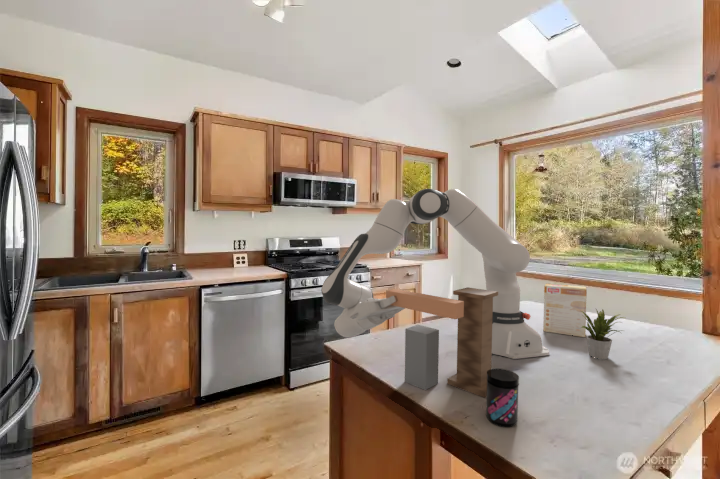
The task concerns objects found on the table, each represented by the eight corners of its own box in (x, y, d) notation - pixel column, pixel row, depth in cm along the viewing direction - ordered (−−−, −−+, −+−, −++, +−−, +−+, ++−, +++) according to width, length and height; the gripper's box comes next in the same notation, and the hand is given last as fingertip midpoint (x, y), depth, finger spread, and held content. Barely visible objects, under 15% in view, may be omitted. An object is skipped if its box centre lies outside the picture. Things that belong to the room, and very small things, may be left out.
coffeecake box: (585, 333, 145) (586, 286, 144) (585, 337, 139) (587, 288, 138) (544, 327, 153) (545, 282, 153) (542, 331, 147) (544, 285, 147)
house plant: (637, 368, 110) (640, 316, 109) (588, 364, 112) (590, 313, 112) (614, 352, 124) (616, 306, 123) (571, 349, 126) (572, 303, 126)
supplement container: (479, 419, 80) (480, 373, 80) (494, 408, 84) (495, 366, 84) (509, 432, 75) (510, 384, 74) (523, 420, 79) (524, 375, 79)
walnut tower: (447, 383, 98) (448, 290, 97) (463, 374, 104) (465, 286, 103) (485, 397, 90) (487, 296, 89) (500, 386, 96) (502, 292, 95)
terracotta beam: (385, 303, 104) (386, 290, 104) (394, 301, 107) (394, 288, 107) (455, 319, 88) (455, 303, 88) (463, 316, 91) (463, 301, 91)
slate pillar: (404, 381, 99) (405, 328, 98) (417, 375, 103) (418, 324, 102) (425, 390, 94) (426, 334, 93) (438, 383, 98) (438, 329, 97)
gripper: (343, 308, 105) (373, 291, 96) (388, 299, 119) (417, 283, 111) (350, 328, 103) (381, 313, 94) (395, 316, 117) (425, 302, 109)
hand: (401, 296), depth 103 cm, fingers closed on terracotta beam, 4 cm apart
